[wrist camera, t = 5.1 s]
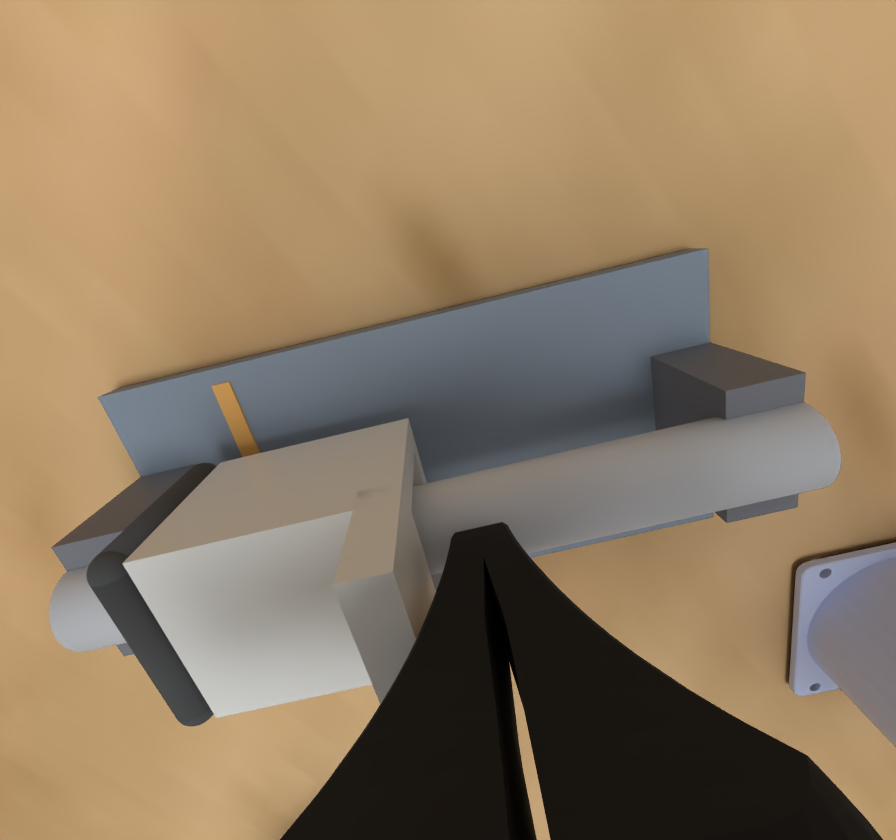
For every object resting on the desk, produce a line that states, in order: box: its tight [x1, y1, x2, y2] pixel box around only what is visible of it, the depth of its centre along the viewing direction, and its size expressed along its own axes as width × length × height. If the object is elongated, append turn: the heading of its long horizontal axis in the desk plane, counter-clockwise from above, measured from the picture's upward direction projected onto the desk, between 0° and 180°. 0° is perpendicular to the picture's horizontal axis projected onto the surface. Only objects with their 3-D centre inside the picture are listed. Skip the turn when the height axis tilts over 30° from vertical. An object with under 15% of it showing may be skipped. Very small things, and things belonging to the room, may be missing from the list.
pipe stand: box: [49, 248, 841, 656], centre depth 14 cm, size 20×10×6 cm, turn 103°
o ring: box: [86, 463, 217, 726], centre depth 12 cm, size 1×5×5 cm, turn 13°
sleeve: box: [122, 418, 442, 718], centre depth 11 cm, size 6×5×7 cm
